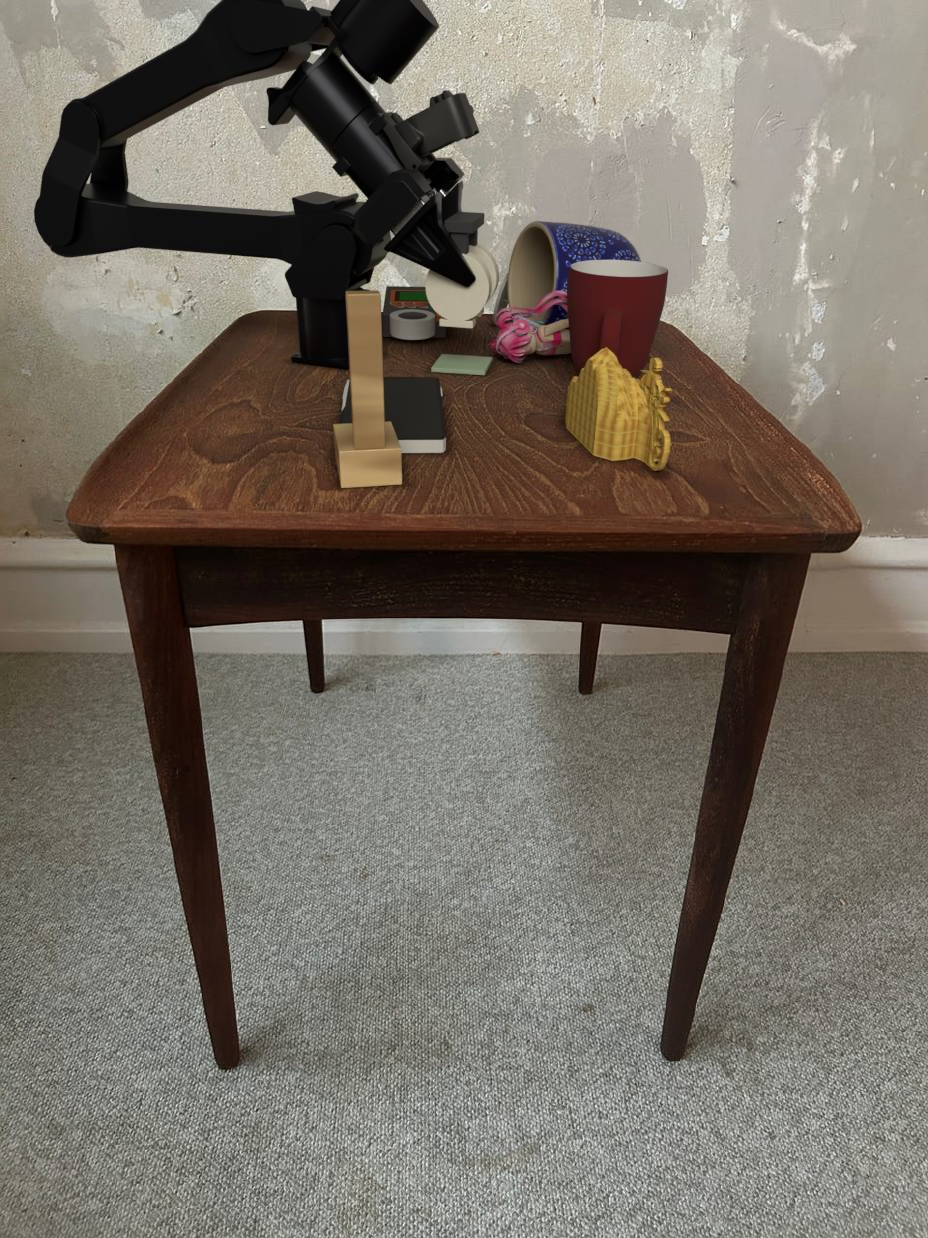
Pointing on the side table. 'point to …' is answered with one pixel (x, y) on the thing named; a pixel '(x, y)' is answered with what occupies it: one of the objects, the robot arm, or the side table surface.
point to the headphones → (452, 297)
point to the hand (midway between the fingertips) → (478, 276)
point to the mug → (615, 310)
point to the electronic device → (410, 314)
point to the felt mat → (462, 364)
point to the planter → (557, 262)
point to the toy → (532, 331)
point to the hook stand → (366, 402)
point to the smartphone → (410, 412)
